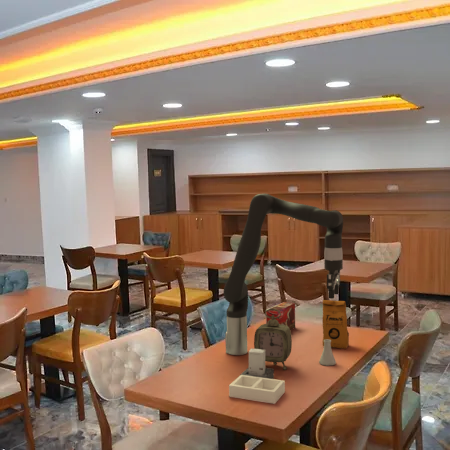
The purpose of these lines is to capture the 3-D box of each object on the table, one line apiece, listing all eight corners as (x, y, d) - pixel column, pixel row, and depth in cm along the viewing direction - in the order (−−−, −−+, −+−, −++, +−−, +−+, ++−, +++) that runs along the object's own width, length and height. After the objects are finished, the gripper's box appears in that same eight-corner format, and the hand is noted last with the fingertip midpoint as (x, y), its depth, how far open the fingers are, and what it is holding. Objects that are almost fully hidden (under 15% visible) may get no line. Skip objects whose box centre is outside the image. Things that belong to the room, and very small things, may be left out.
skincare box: (248, 381, 209) (247, 351, 208) (251, 377, 214) (250, 348, 213) (263, 383, 207) (262, 352, 206) (266, 379, 212) (265, 349, 211)
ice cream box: (284, 326, 288) (284, 302, 286) (295, 327, 284) (294, 303, 283) (266, 335, 271) (265, 310, 270) (277, 337, 267) (276, 311, 266)
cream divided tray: (229, 396, 195) (228, 385, 195) (241, 385, 205) (241, 374, 205) (274, 403, 188) (274, 392, 187) (284, 391, 198) (284, 380, 198)
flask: (336, 366, 224) (336, 343, 223) (318, 365, 225) (318, 342, 224) (336, 360, 231) (336, 338, 230) (319, 360, 232) (318, 337, 231)
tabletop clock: (254, 368, 224) (253, 310, 222) (260, 361, 232) (259, 305, 230) (288, 372, 219) (287, 312, 217) (293, 364, 227) (292, 307, 225)
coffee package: (347, 351, 244) (346, 303, 242) (320, 348, 248) (319, 301, 247) (350, 344, 253) (350, 299, 251) (324, 342, 258) (324, 297, 256)
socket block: (240, 383, 208) (240, 374, 207) (250, 373, 218) (250, 365, 217) (264, 386, 203) (264, 378, 203) (273, 377, 213) (273, 368, 213)
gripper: (328, 255, 231) (328, 292, 233) (320, 260, 218) (320, 299, 220) (345, 256, 228) (346, 293, 229) (338, 261, 215) (338, 300, 216)
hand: (333, 296), depth 224 cm, fingers open, 8 cm apart
